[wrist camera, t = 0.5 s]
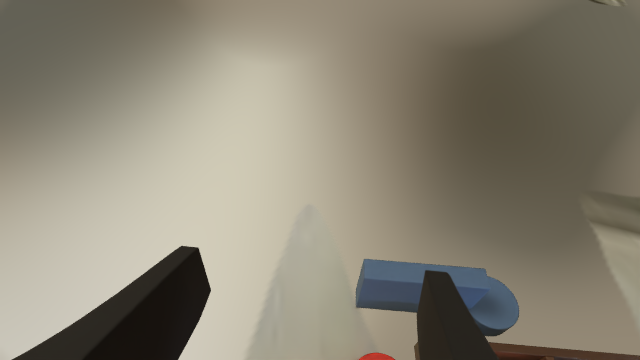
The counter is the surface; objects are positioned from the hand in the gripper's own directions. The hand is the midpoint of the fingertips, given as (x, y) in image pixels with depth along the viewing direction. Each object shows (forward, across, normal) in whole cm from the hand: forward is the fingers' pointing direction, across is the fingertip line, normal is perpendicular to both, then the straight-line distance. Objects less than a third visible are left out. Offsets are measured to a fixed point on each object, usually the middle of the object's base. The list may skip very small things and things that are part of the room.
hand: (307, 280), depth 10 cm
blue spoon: (+12, -8, +16) cm, 21 cm away
